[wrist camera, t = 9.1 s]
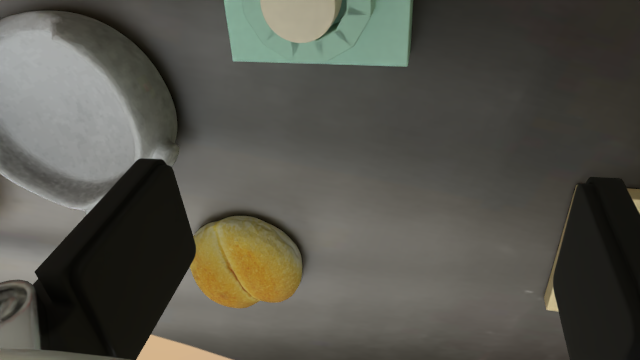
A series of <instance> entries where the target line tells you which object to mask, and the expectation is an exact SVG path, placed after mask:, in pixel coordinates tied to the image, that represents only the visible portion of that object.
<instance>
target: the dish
mask: <svg viewBox="0 0 640 360" xmlns="http://www.w3.org/2000/svg"><path fill="white" fill-rule="evenodd" d="M176 136H177V117H176V110H175V106H174V103H173V100H172V98H171V95H170V92H169V90H168V88H167V86H166V84H165V82H164V81H163V79H162V77H161V75H160V74H159V72H158V70H157V69H156V67H155V66H154V65H153V64H152V62H151V61H150V60H149V59H148V57H147V56H146V55H145V54H144V53H143V52H142V51H141V49H139V48H138V47H137V46H136V45H135V44H134V43H133V42H132V41H131V40H129V39H128V38H127V37H125V36H124V35H122V34H121V33H120V32H118V31H117V30H115V29H113V28H112V27H110V26H108V25H106V24H104V23H102V22H100V21H98V20H95V19H93V18H90V17H87V16H84V15H80V14H76V13H71V12H64V11H30V12H24V13H18V14H14V15H11V16H7V17H5V18H2V19H0V174H1V175H2V176H4V177H5V178H7V179H9V180H10V181H12V182H13V183H15V184H17V185H19V186H20V187H22V188H24V189H26V190H28V191H30V192H32V193H34V194H36V195H38V196H40V197H42V198H45V199H47V200H49V201H52V202H54V203H56V204H59V205H62V206H64V207H67V208H71V209H76V210H85V213H86V214H88V213H89V212H90V211H91V210H92V209H93V208H94V206H95V205H96V204H97V203H98V202H99V201H100V200H101V199H102V198H103V197H104V196H105V194H106V193H107V192H108V191H109V190H110V189H111V188H112V187H113V186H114V185H115V184H116V182H117V181H118V180H119V179H120V178H121V177H122V176H123V175H124V174H125V173H126V172H127V170H128V169H129V168H130V167H131V166H132V165H133V164H134V163H135V162H136V161H137V160H138V159H141V158H147V159H162V160H164V161H165V162H166V164H167V165H169V166H171V167H172V166H173V165H174V163H175V161H176V159H177V156H178V153H179V146H178V145H177V144H175V141H176Z"/></svg>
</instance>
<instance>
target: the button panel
mask: <svg viewBox="0 0 640 360" xmlns="http://www.w3.org/2000/svg"><path fill="white" fill-rule="evenodd" d="M224 5H225V12H226V19H227V25H228V32H229V38H230V45H231V52H232V58H233V61H243V62H275V63H308V64H340V65H372V66H404V67H406V66H408V62H409V57H410V50H411V31H412V12H413V0H342V4H341V8H340V11H339V14H338V16H337V17H336V19H335V20H334V22H333V23H332V25H331V26H330V28H329V29H328V30H327V32H326V33H325V34H324V35H323V36H321V37H320V38H318V39H316V40H314V41H311V42H307V43H295V42H290V41H288V40H285V39H283V38H281V37H280V36H278V35H277V34H276V33H275V32H274V31H273V30H272V29H271V28H270V27H269V25H268V24H267V22H266V21H265V19H264V16H263V13H262V10H261V5H260V0H224Z"/></svg>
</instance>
